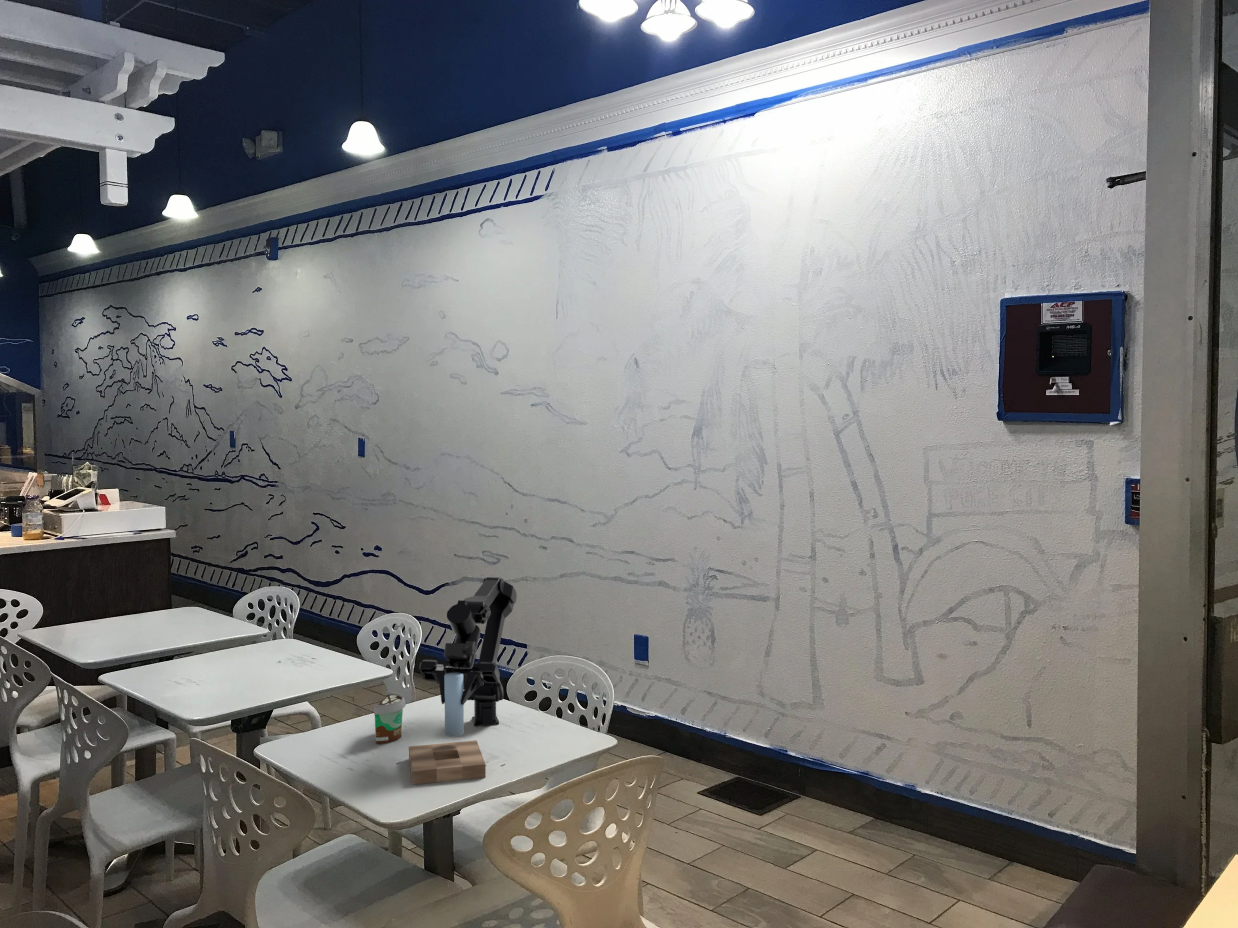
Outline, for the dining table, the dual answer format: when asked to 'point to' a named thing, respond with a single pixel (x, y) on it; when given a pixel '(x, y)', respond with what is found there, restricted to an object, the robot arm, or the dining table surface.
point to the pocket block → (446, 762)
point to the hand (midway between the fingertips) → (452, 703)
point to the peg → (454, 704)
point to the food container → (389, 718)
